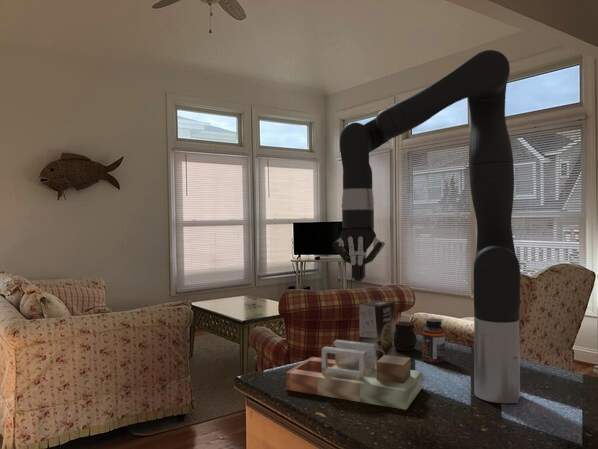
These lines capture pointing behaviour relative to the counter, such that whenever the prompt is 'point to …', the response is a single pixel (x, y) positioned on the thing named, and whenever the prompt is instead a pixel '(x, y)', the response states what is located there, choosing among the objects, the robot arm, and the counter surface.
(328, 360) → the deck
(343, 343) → the tunnel
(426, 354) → the supplement bottle
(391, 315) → the coffee box
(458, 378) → the counter surface
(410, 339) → the mate gourd
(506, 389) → the robot arm
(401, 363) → the walnut block
